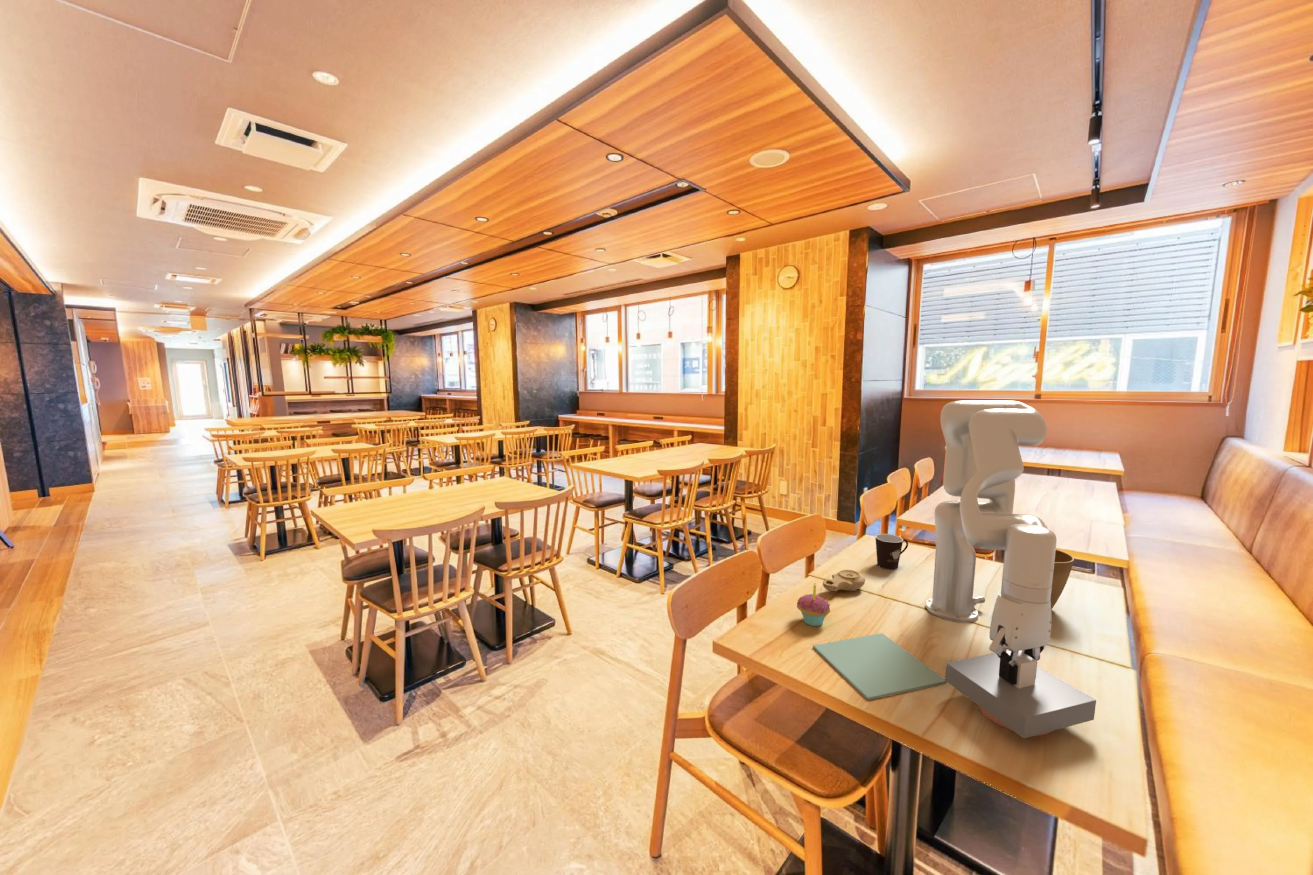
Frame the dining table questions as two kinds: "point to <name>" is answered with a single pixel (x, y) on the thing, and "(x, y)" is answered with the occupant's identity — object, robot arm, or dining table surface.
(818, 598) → the cupcake
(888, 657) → the mat
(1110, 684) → the dining table surface
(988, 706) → the cover
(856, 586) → the oil lamp
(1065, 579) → the plant pot
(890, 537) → the coffee mug
